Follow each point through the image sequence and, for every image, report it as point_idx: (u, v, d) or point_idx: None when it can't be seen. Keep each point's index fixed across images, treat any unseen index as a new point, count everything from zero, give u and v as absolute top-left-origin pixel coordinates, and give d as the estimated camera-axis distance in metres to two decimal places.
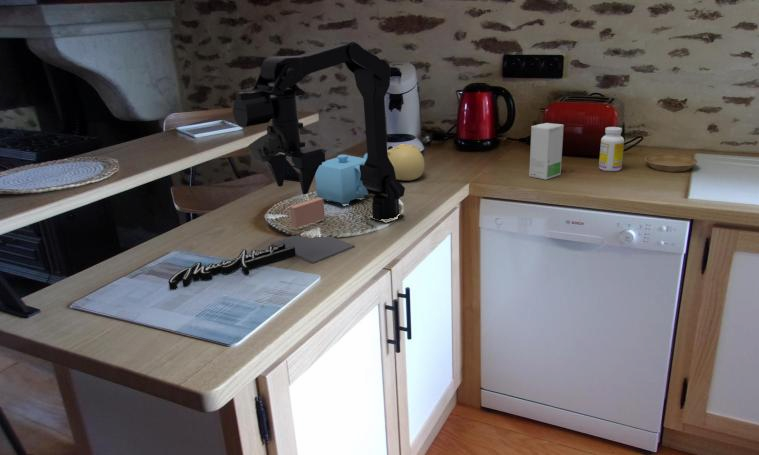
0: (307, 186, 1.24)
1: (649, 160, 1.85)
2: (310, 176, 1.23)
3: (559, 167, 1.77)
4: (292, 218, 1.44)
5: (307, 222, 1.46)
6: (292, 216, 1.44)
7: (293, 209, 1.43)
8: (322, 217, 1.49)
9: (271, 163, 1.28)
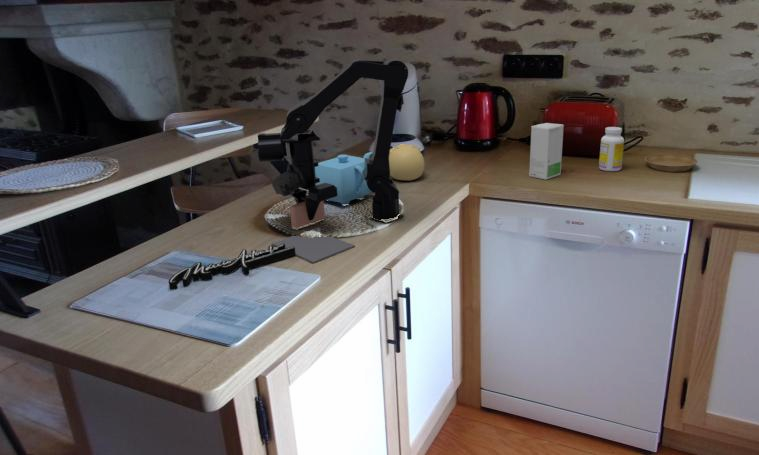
0: (313, 213, 1.46)
1: (649, 160, 1.85)
2: (315, 205, 1.45)
3: (559, 167, 1.77)
4: (292, 218, 1.44)
5: (307, 221, 1.46)
6: (292, 216, 1.44)
7: (293, 209, 1.43)
8: (322, 217, 1.49)
9: (297, 198, 1.46)
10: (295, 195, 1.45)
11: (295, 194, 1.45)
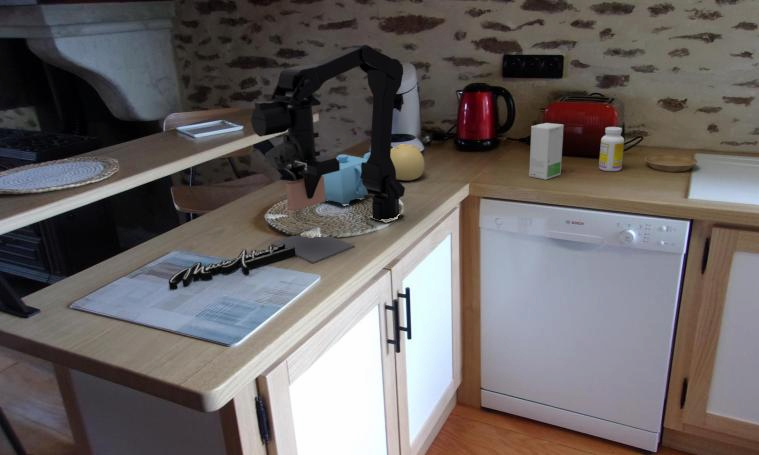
0: (312, 191, 1.29)
1: (649, 160, 1.85)
2: (315, 181, 1.28)
3: (559, 167, 1.77)
4: (288, 197, 1.28)
5: (306, 201, 1.30)
6: (288, 194, 1.28)
7: (289, 186, 1.26)
8: (322, 197, 1.33)
9: (295, 173, 1.29)
10: (292, 170, 1.29)
11: (292, 169, 1.29)
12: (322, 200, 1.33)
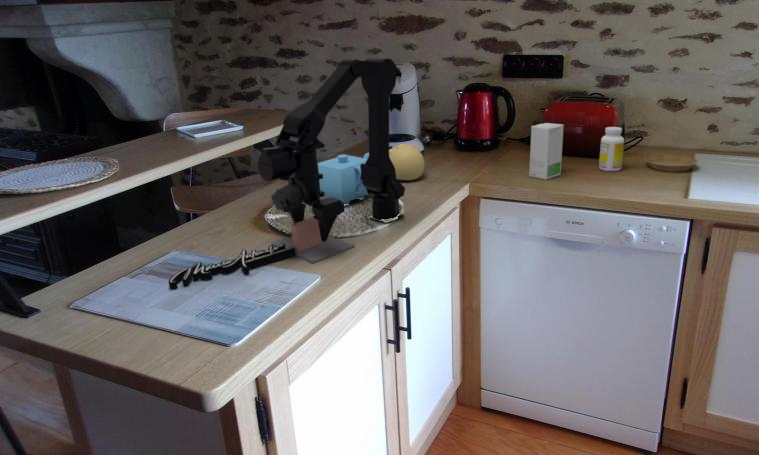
0: (326, 234, 1.30)
1: (649, 160, 1.85)
2: (329, 225, 1.29)
3: (559, 167, 1.77)
4: (293, 238, 1.31)
5: (310, 242, 1.33)
6: (293, 235, 1.30)
7: (295, 228, 1.29)
8: None
9: (291, 210, 1.34)
10: None
11: None
12: None
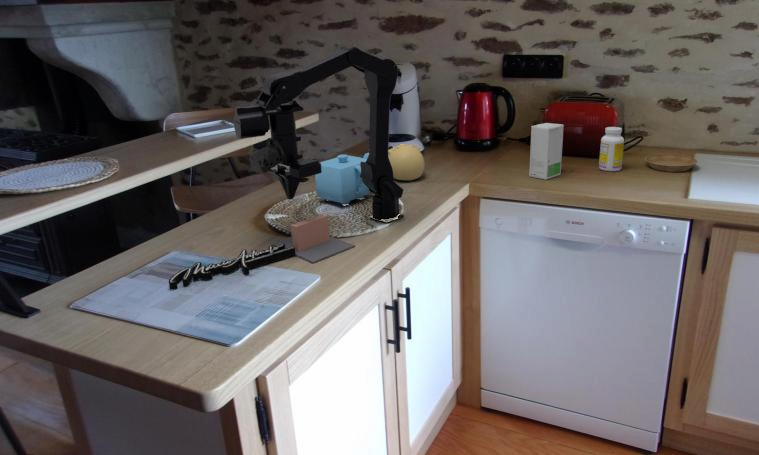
0: (293, 191, 1.35)
1: (649, 160, 1.85)
2: (295, 183, 1.34)
3: (559, 167, 1.77)
4: (293, 238, 1.31)
5: (310, 242, 1.33)
6: (293, 235, 1.30)
7: (295, 228, 1.29)
8: (326, 236, 1.36)
9: (281, 177, 1.33)
10: (279, 173, 1.33)
11: (279, 172, 1.33)
12: (326, 239, 1.36)
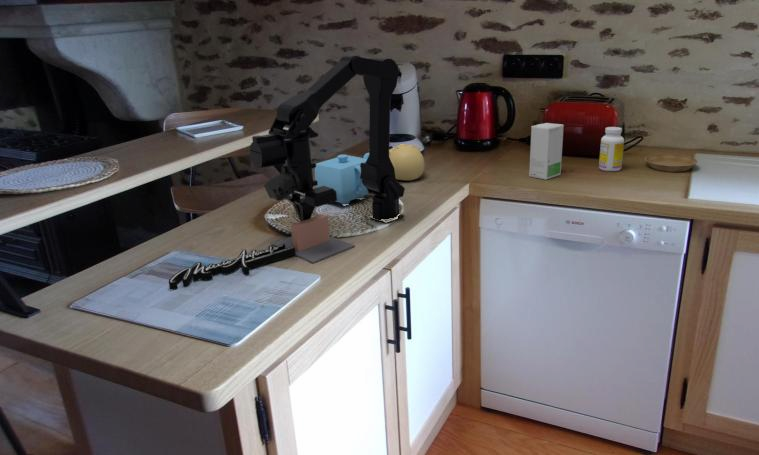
0: (307, 218, 1.33)
1: (649, 160, 1.85)
2: (310, 209, 1.33)
3: (559, 167, 1.77)
4: (293, 238, 1.31)
5: (310, 242, 1.33)
6: (293, 235, 1.30)
7: (295, 228, 1.29)
8: (326, 236, 1.36)
9: (296, 203, 1.32)
10: (293, 200, 1.31)
11: (293, 199, 1.31)
12: (326, 239, 1.36)
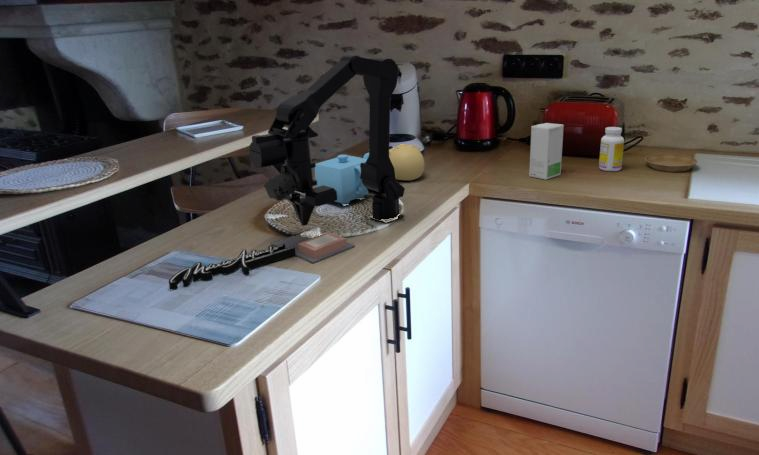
0: (307, 218, 1.33)
1: (649, 160, 1.85)
2: (310, 209, 1.33)
3: (559, 167, 1.77)
4: (306, 249, 1.28)
5: None
6: (307, 250, 1.28)
7: (313, 256, 1.27)
8: None
9: (295, 203, 1.32)
10: (293, 200, 1.31)
11: (293, 199, 1.31)
12: None
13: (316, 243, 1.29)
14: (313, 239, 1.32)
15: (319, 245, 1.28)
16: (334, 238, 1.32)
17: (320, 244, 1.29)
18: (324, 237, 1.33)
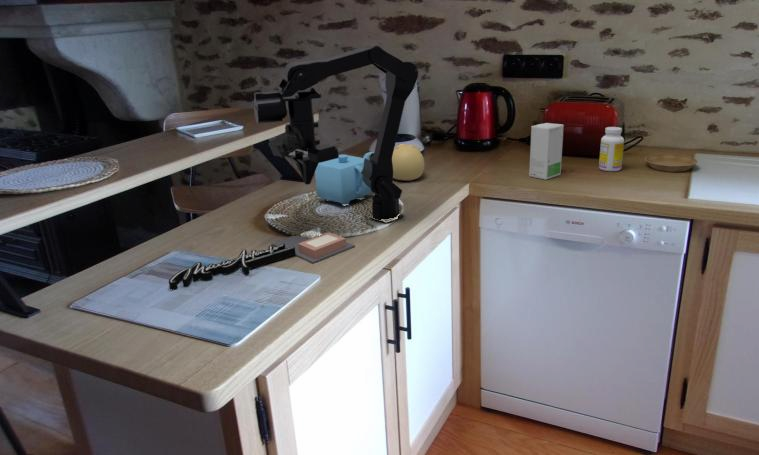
0: (310, 177, 1.38)
1: (649, 160, 1.85)
2: (312, 168, 1.38)
3: (559, 167, 1.77)
4: (306, 249, 1.28)
5: None
6: (307, 250, 1.28)
7: (313, 256, 1.27)
8: None
9: (299, 162, 1.37)
10: (296, 159, 1.36)
11: (296, 158, 1.36)
12: None
13: (316, 243, 1.29)
14: (313, 239, 1.32)
15: (319, 245, 1.28)
16: (334, 238, 1.32)
17: (320, 244, 1.29)
18: (324, 237, 1.33)
